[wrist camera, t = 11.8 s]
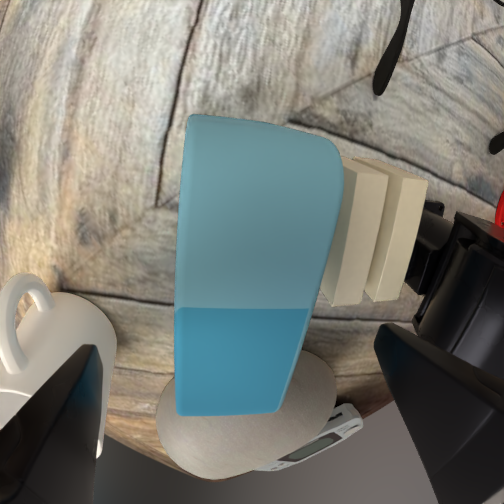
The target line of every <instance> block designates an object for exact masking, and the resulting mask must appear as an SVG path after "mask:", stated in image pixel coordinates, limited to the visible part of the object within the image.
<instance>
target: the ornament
mask: <svg viewBox="0 0 504 504" xmlns="http://www.w3.org/2000/svg"><path fill="white" fill-rule="evenodd" d="M501 222H503V225H501ZM495 224H496V225H498V226H500V227H502V228H503V229H504V191H503V193H502V195H501V197H500V200H499V203H498V207H497V211H496V217H495Z"/></svg>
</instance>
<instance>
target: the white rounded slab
mask: <svg viewBox="0 0 504 504" xmlns="http://www.w3.org/2000/svg"><path fill="white" fill-rule="evenodd" d="M336 396H337V387H336V380H335V376H334V373H333V371H332V370H331V368H330V367H329V366H328V365H327V364H326V363H325V362H324V361H323V360H322V359H320V358H319V357H318V356H316V355H314V354H312V353H310V352H307V351H304V350H301V352H300V355H299V358H298V361H297V364H296V367H295V370H294V373H293V376H292V379H291V382H290V384H289V387H288V390H287V393H286V396H285V399H284V402H283V404H282V406H281V408H280V409H279V410H278V411H276V412H274V413H263V414H249V415H231V416H180V415H178V414H177V412H176V399H175V377H174V378H173V379H172V380H171V381H170V382H169V383H168V384H167V386H166V387H165V389H164V391H163V393H162V395H161V397H160V400H159V403H158V406H157V410H156V428H157V432H158V436H159V439H160V442H161V444H162V446H163V447H164V449H165V451H166V453H167V454H168V455H169V457H170V458H171V459H172V460H173V461H174V462H175V463H177V464H178V465H179V466H180V467H181V468H183V469H184V470H186V471H188V472H190V473H192V474H194V475H196V476H199V477H202V478H208V479H224V478H228V477H232V476H235V475H239V474H242V473H245V472H248V471H251V470H254V469H257V468H259V467H262V466H264V465H267V464H269V463H271V462H273V461H275V460H277V459H279V458H281V457H283V456H285V455H287V454H289V453H291V452H293V451H295V450H296V449H298V448H300V447H302V446H303V445H305V444H306V443H308V442H309V441H310V440H312V439H313V438H314V437H316V436H317V435H318V433H319V432H320V431H321V430H322V429H323V427H324V426H325V425H326V423H327V421H328V419H329V418H330V416H331V414H332V411H333V409H334V406H335V403H336Z"/></svg>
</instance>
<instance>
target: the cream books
mask: <svg viewBox="0 0 504 504" xmlns="http://www.w3.org/2000/svg"><path fill="white" fill-rule="evenodd" d="M340 156H341V155H340ZM341 160H342V164H343V170H344V191H343V198H342V203H341V208H340V212H339V216H338V220H337V224H336V229H335V233H334V237H333V240H332V244H331V248H330V252H329V256H328V260H327V263H326V267H325V271H324V274H323V278H322V282H321V285H320V290H321V291H322V293H323V294H324V296H325V297H326V299H327V300H328V301H329V303H330V304H331V306H332V307H337V306H346V305H356V304H360V303H361V300H362V296H363V292H364V291H365V292H366V293H367V294H368V296H369V297H370V298H371V299H372V300H373V302H380V301H388V300H396V299H398V297H399V294H400V291H401V288H402V285H403V282H404V279H405V275H406V272H407V269H408V265H409V262H410V258H411V255H412V251H413V247H414V244H415V240H416V236H417V232H418V228H419V224H420V220H421V215H422V211H423V206H424V202H425V197H426V192H427V187H428V180H426V179H424V178H421V177H419V176H417V175H414V174H412V173H409V172H407V171H405V170H402V169H400V168H397V167H395V166H392V165H390V164H387V163H384V162H382V161H379V160H377V159H369V158H361V157H354V158H353V160H351V159H349V158H346V157H344V156H341Z"/></svg>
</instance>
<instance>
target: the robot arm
mask: <svg viewBox="0 0 504 504" xmlns="http://www.w3.org/2000/svg"><path fill="white" fill-rule="evenodd" d="M439 207H440V208H439ZM444 208H445V206H444V204H443V203H441V202H439V201H430V200H425V202H424V206H423V211H422V215H421V220H420V224H419V228H418V232H417V236H416V240H415V244H414V247H413V251H412V255H411V258H410V262H409V265H408V269H407V272H406V275H405V279H404V282H405V283H406V284H408V285H409V286H410V287H411V288H412V289H413V290H414V291H415V292H416V293H417V294H418V295H423V296H424V299H423V301H422V303H421V305H420V307H419V309H418V311H417V313H416V314H415V315H414V317H413V319H412V324H413V326H414V328H415V331H416V333H417V335H418V336H417V335H415V334H413V333H411V332H409V331H407V330H405V329H403V328H402V327H400V326H398V325H396V324H394V323H385V324H381V326H380V327H379V330H378V332H377V335H376V338H375V341H374V350H375V353H376V355H377V358H378V361H379V364H380V366H381V369H382V372H383V375H384V377H385V380H386V383H387V385H388V387H389V390H390V392H391V394H392V396H393V398H394V400H395V402H396V404H397V407H398V409H399V411H400V413H401V415H402V417H403V420H404V422H405V424H406V426H407V429H408V431H409V433H410V435H411V437H412V440H413V442H414V444H415V447H416V449H417V451H418V454H419V456H420V458H421V461H422V463H423V465H424V468H425V470H426V473H427V475H428V477H429V479H430V482H431V485H432V488H433V490H434V493H435V495H436V498H437V500H438V503H439V504H482V503H483V502H484V504H504V229H503V228H502V227H500V226H498V225H496V224H494V223H492V222H490V221H487V220H484V219H481V218H478V217H475V216H471V215H468V214H465V213H461V212H458V211H456V214H455V217H454V219H455V221H454V224H453V223H451V222H449V221H448V220H446V219H444V218H443V213H444ZM102 385H103V364H102V361H101V358H100V355H99V351H98V348H97V346H96V345H94V344H83V345H81V346H80V347H79V348H78V349H77V350H76V351H75V352H74V353H73V354H72V355H71V356H70V357H69V358H68V359H67V360H66V361H65V362H64V363H63V364H62V365H61V366H60V367H59V368H58V369H57V370H56V371H55V373H54V374H53V375H52V376H51V377H50V378H49V379H48V380H47V381H46V382H45V383H44V384H43V385H42V386H41V387H40V388H39V389H38V390H37V391H36V392H35V393H34V394H33V396H32V397H31V398H30V399H29V400H28V401H27V402H26V403H25V404H24V405H23V406H22V407H21V408H20V410H19V411H18V412H17V413H16V415H14V416H13V417H12V418H11V419H10V420H9V421H8V423H7V424H6V425H5V426H4V427H3V428H2V429H1V430H0V504H93V492H94V477H95V465H96V455H97V446H98V437H99V429H100V422H101V411H102Z"/></svg>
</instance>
